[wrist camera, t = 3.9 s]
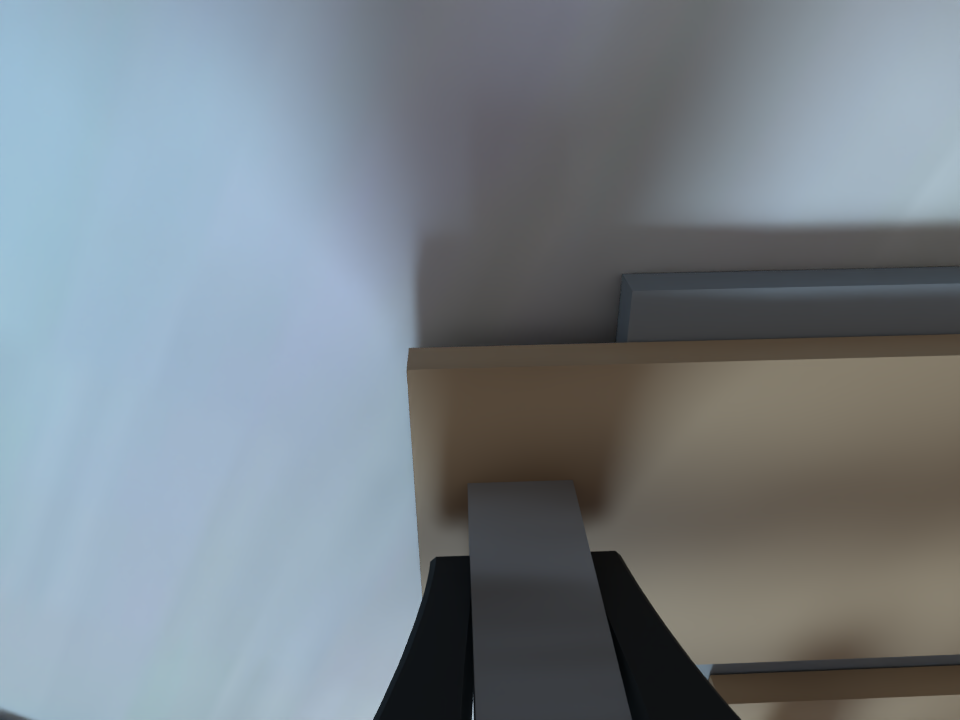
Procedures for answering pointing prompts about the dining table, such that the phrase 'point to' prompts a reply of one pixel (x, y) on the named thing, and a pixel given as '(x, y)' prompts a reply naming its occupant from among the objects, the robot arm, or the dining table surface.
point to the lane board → (793, 314)
